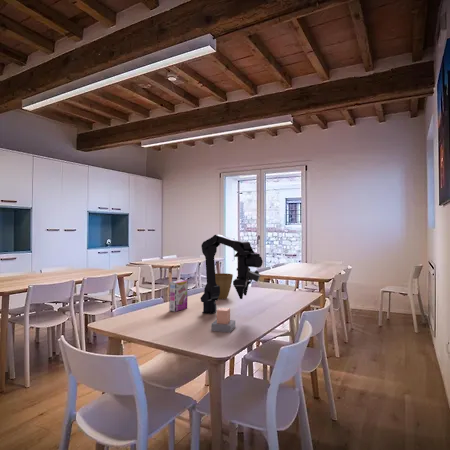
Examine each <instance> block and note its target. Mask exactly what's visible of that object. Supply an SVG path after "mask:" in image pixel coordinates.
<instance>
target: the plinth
mask: <svg viewBox="0 0 450 450" xmlns="http://www.w3.org/2000/svg"><path fill="white" fill-rule="evenodd" d="M210 327H211V329H210V330H211V332H222V333H231V332H232V331H233V330H234V329H235V328H236V320H235V319H230V322H229V323H228V324H220V323H217V319H216V320H214V321H213V322H212V323H211V325H210Z"/></svg>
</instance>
